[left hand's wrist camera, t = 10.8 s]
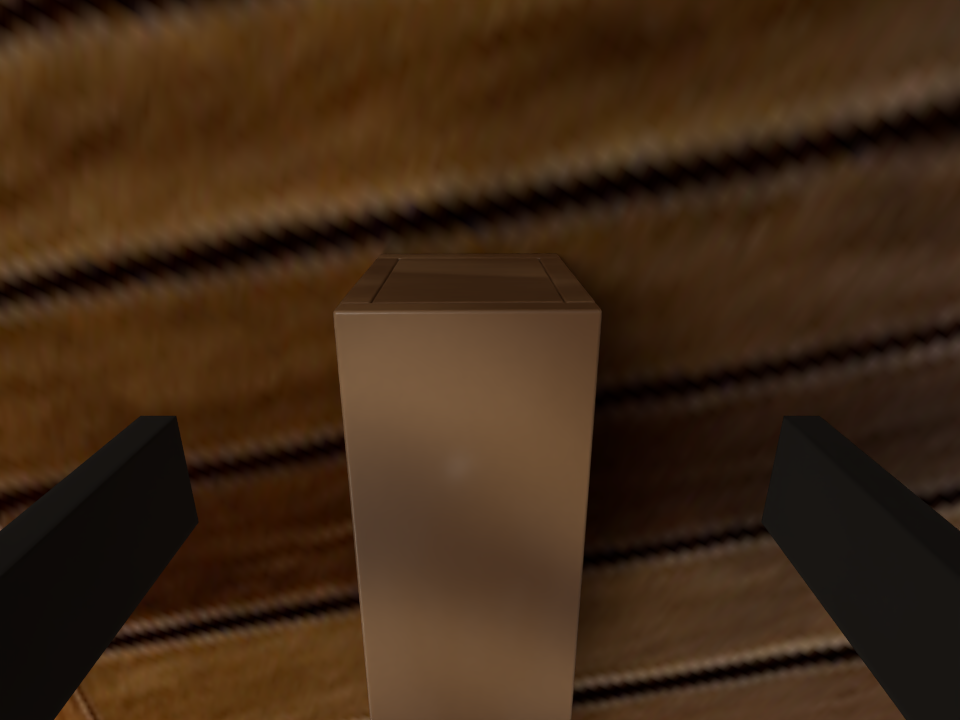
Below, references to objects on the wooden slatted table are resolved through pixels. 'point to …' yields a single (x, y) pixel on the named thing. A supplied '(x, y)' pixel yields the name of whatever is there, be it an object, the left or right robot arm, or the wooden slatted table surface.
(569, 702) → the cabinet
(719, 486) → the wooden slatted table surface
